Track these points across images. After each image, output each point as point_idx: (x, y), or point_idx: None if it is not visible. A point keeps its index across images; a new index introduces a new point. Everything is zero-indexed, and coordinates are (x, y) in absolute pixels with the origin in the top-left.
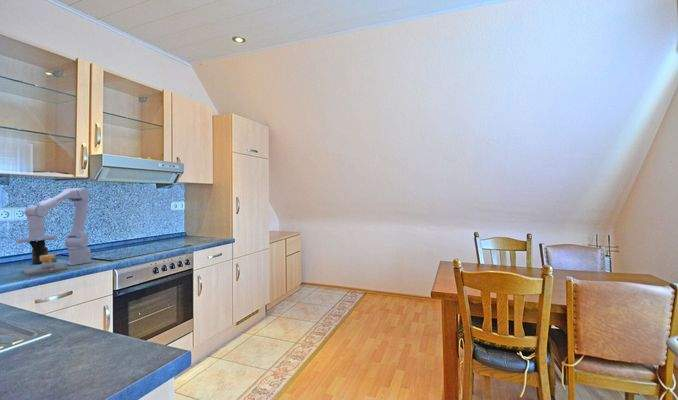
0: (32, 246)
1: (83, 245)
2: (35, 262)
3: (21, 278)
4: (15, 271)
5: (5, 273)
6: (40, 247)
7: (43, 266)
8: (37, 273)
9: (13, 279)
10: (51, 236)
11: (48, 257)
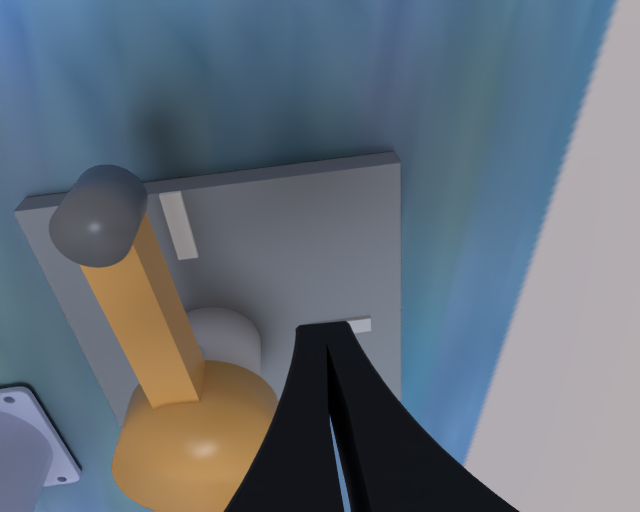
0: (470, 483)
1: None
2: None
3: (465, 61)
4: None
5: (481, 412)
6: (293, 449)
7: (249, 338)
8: (311, 166)
9: (529, 76)
10: None
11: (186, 378)
